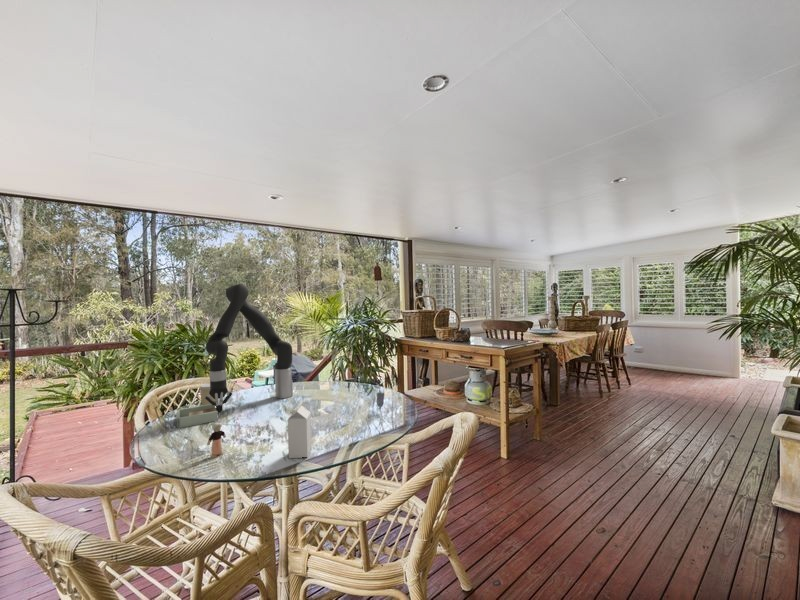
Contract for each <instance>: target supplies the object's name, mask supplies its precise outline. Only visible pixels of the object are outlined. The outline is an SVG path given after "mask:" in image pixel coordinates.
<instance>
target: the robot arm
mask: <svg viewBox="0 0 800 600" xmlns="http://www.w3.org/2000/svg"><path fill="white" fill-rule="evenodd" d="M225 297H226V298H227V300H228V301H229V302H230V303H229V305H228V306H227V308H226V310H225V312H224V313H222V316H220V319H219V321H218V324H217V326H216V328H215V331H214V332H213V333H212V334H211V336H210V337H209V339H208V340H207V342H206V344H205V351H206V352H207V353H208V354H211V355H215V357H214V358H212V359H211V360H210V361H209V370H210V371H209V383H210V392H209V394H208V395H207V396H205V399H206V400H207V401H208V402H210V403H211V404H212V405H215V406H216V407H215V408H216V411H217V414H219V413H222V412H223V410H224V409H223V405H224V404H227V402H228V401H229V400H230V398H231V396H232V395H233V392H232V391H230V390H228V387H227V385H228V383H227V372H226V371H227V370H226V361H227V360H226V359H227V356H228V352H229V344H228V342H227V341H226V340H223V339H226V338H228V337H229V336H230V335H231V332H232V329H233V326H234V323H235V322H236V319H237V317H238V315H239V313H241V314H242V315H243V317H244V318H245V320H247V321H248V322H249V324H250V326H251V327H252V328H253V329H254V330H255V331H256V332H257V333H258V335H260V337H261V338H262V339H263V340H264V341H265V342H266V343H267V345H268V346H269V348H270V350H271V351H272V353H273V354H274V355H276V357H277V358H276V363H275V364H274V377H275V379H274V382H275V384H274V387H275V399H288V398H291V397H293V396H294V395H293V394H294V392H293V391H294V390H293V384H294V383H293V380H292V363H293V347H292V345H291V343H290V342H288V341H283V339H281V338H280V337H279V335H278V334H277V333H276V332H275V329H274V327H273V324H272V322H271V321H270V319H269V318H268V317H267V316H266V315H265V313H264V312H263V311H261V310H260V309H258V308H257V307H255V306H253V305H252V304H251V303H249V301H248V300H247V298H248V297H249V288H248V287H247V286H246V285H245V284H243V283H242V284H241V283H239V284H235V285H231V286H229V287H227V288H226V291H225ZM210 395H211V396H212V397H213V398H214V399H215V402H213V401H212V400H211V399H210V398H211V397H210Z"/></svg>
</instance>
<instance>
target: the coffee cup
mask: <svg viewBox="0 0 800 600" xmlns="http://www.w3.org/2000/svg"><path fill="white" fill-rule="evenodd" d="M199 392H200V400H201V401H200V403H201V406H202V405H208V404H211V403H210V402H208V401H207V400H206V399H205V396H207V395H208V394H209V392H210V382H209V383H208V382H207V383H203V384H200V386H199ZM210 397H211V398H210V399H211V400H212V401H213V402H215V399H214V398H213V397H212V396H211V395H210Z"/></svg>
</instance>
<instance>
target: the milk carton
mask: <svg viewBox="0 0 800 600" xmlns="http://www.w3.org/2000/svg"><path fill="white" fill-rule="evenodd" d="M290 413H291V415H290V416H289V417H288V419H287V440H288V443H287V444H288V446H287V447H288V459H298V458H299V459H301V458H302V457H307V458H308V457H309V456H308V455H310V454H311V451H312V419H311V417H312V416H311V414H312V413H311V411H310V410H308V409H307V408H306V407H305V406H303V402H300V404H299V405H298V406H297V407H296V408H295V407H294V408H293V409H292V410H290ZM302 459H303V458H302Z"/></svg>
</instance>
